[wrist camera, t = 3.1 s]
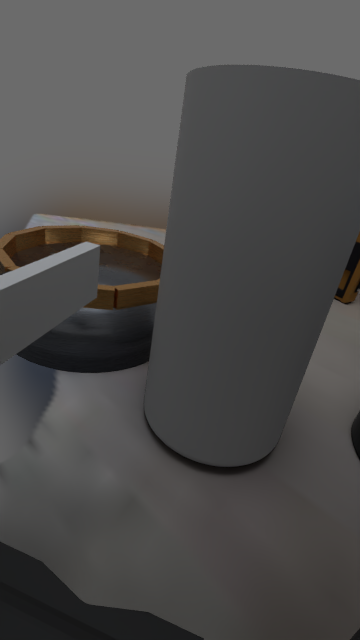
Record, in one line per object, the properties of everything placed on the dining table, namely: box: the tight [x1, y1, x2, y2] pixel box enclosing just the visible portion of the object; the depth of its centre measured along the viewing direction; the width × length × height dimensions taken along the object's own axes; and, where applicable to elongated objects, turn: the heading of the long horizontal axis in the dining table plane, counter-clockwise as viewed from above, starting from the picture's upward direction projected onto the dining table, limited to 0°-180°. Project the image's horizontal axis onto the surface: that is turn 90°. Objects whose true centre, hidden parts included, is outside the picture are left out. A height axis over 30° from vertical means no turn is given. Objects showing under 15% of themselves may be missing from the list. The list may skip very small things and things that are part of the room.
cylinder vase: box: [144, 65, 360, 467], centre depth 26 cm, size 12×12×25 cm
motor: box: [0, 225, 164, 372], centre depth 41 cm, size 24×21×9 cm
